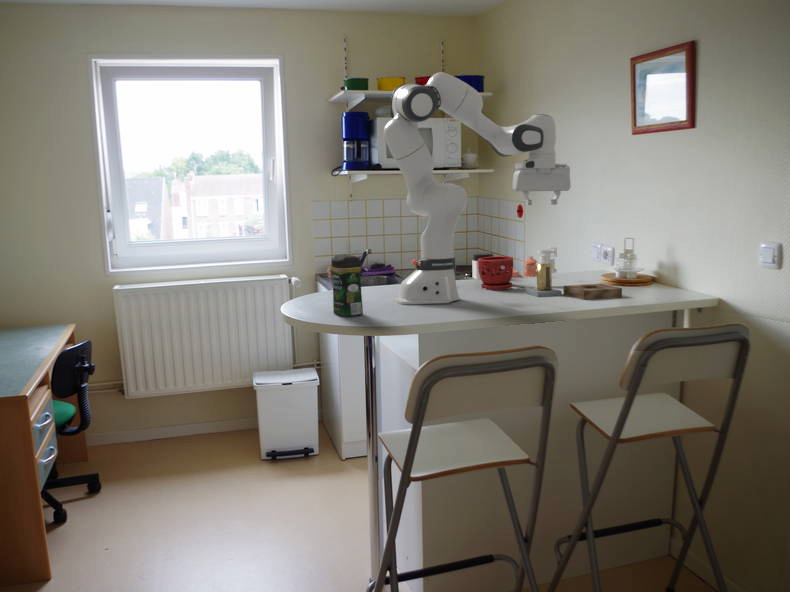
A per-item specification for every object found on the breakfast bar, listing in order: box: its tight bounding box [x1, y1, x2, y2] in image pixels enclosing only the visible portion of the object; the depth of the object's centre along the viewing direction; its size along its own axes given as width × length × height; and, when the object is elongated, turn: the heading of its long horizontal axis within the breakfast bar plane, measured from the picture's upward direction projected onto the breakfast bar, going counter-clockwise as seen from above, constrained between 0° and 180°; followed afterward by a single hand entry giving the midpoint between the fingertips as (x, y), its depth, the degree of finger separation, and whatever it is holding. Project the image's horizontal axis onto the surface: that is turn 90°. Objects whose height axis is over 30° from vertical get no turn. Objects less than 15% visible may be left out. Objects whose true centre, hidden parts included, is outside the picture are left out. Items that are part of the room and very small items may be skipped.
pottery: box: [507, 256, 538, 278], centre depth 277 cm, size 18×10×10 cm, turn 89°
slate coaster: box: [526, 287, 563, 298], centre depth 237 cm, size 9×9×2 cm
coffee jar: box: [330, 254, 364, 318], centre depth 205 cm, size 10×8×19 cm
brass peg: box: [536, 263, 553, 290], centre depth 236 cm, size 5×5×9 cm
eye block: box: [563, 283, 623, 301], centre depth 230 cm, size 14×14×3 cm
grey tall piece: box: [537, 246, 558, 274], centre depth 255 cm, size 7×7×15 cm
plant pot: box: [478, 255, 514, 290], centre depth 253 cm, size 13×13×12 cm
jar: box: [471, 252, 495, 280], centre depth 271 cm, size 9×8×12 cm
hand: (541, 204), depth 232 cm, fingers open, 8 cm apart
